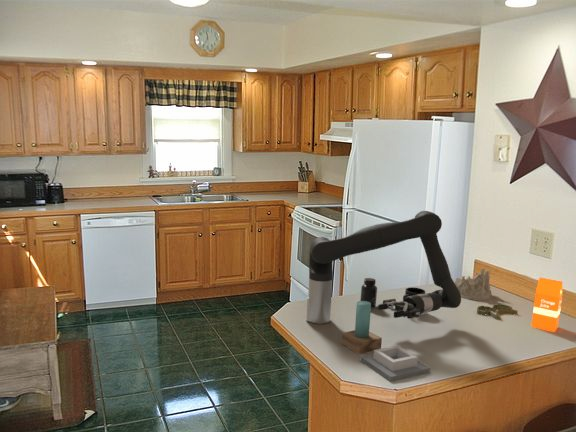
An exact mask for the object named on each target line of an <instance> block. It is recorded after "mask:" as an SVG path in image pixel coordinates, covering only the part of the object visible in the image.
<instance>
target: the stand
mask: <svg viewBox="0 0 576 432" xmlns="http://www.w3.org/2000/svg"><path fill="white" fill-rule="evenodd" d="M382 339H383V338H382V337H381V336H379V335H377V334H375V333H373V332H371V331H369V337H368V338H358V337H356V336H355V329H354V330H350V331H345V332H341V340H340V343H341V345H343V346H345V347H347V348H348V349H350V350H352V351H353V352H355V353H357V354H358V355H361V354H366V353H368V352H369V353H370V352H374V350H377V349H382Z"/></svg>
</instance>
